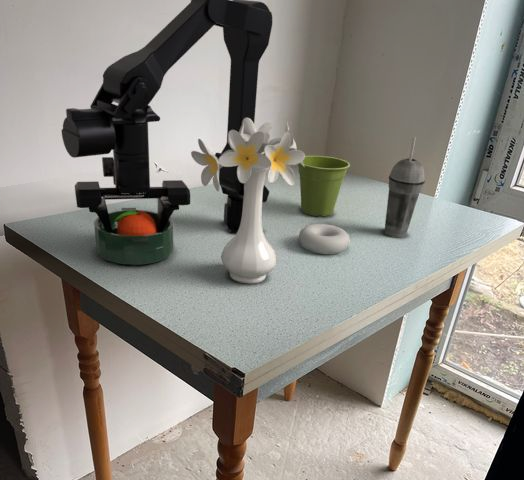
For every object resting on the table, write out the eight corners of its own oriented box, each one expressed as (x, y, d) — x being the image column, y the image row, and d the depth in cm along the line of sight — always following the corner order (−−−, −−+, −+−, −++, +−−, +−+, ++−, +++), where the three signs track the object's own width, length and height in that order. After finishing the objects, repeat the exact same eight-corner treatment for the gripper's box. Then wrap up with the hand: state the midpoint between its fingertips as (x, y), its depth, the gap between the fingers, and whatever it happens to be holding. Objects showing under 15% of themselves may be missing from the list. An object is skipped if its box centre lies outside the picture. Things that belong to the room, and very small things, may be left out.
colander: (166, 236, 108) (165, 208, 105) (179, 265, 97) (179, 235, 95) (94, 239, 104) (91, 210, 101) (99, 269, 93) (97, 238, 91)
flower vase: (179, 279, 93) (179, 118, 79) (256, 253, 105) (267, 109, 91) (234, 308, 86) (244, 137, 72) (310, 277, 97) (330, 125, 84)
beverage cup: (415, 232, 121) (437, 135, 111) (408, 242, 116) (431, 141, 105) (382, 225, 124) (401, 129, 113) (374, 234, 118) (393, 135, 107)
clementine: (119, 259, 96) (117, 219, 92) (107, 244, 101) (104, 206, 97) (163, 253, 100) (162, 214, 96) (149, 239, 105) (148, 202, 101)
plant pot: (345, 208, 132) (353, 159, 126) (338, 224, 122) (346, 171, 116) (296, 200, 134) (301, 152, 128) (285, 215, 124) (291, 163, 118)
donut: (342, 261, 105) (352, 243, 113) (345, 244, 103) (355, 226, 111) (291, 251, 107) (305, 233, 115) (293, 234, 105) (307, 217, 113)
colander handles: (135, 211, 105) (135, 207, 105) (148, 244, 92) (148, 240, 92) (121, 211, 104) (121, 207, 104) (132, 245, 91) (132, 241, 91)
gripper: (178, 139, 101) (178, 223, 109) (69, 139, 95) (78, 227, 103) (191, 155, 92) (190, 245, 100) (71, 155, 86) (81, 250, 95)
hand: (135, 241), depth 100 cm, fingers closed on clementine, 8 cm apart
